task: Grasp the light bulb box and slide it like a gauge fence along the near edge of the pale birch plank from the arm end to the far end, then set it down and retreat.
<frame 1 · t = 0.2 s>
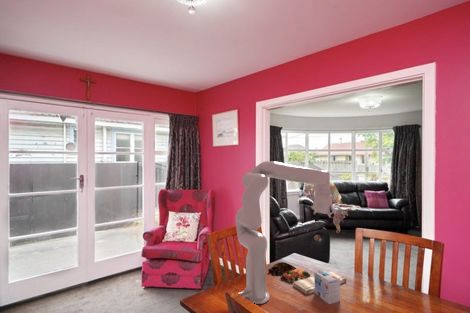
hand: (323, 222, 144), 31 cm above the table, fingers open, 9 cm apart
food: (287, 274, 150), on the table
light bulb box: (327, 297, 123), on the table
plank: (320, 283, 137), on the table
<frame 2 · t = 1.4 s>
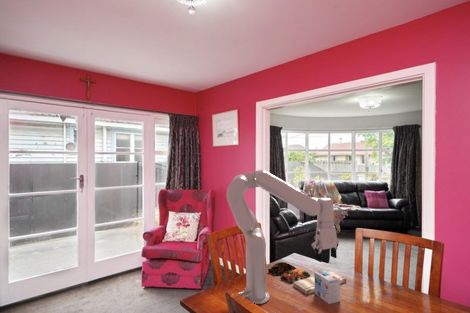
hand: (326, 259, 124), 18 cm above the table, fingers open, 9 cm apart
nothing on the table moved.
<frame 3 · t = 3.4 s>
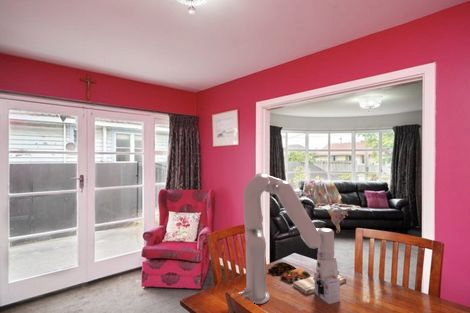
hand: (326, 291, 124), 3 cm above the table, fingers closed on light bulb box, 7 cm apart
light bulb box: (327, 297, 123), on the table, touching gripper
everything else where it was.
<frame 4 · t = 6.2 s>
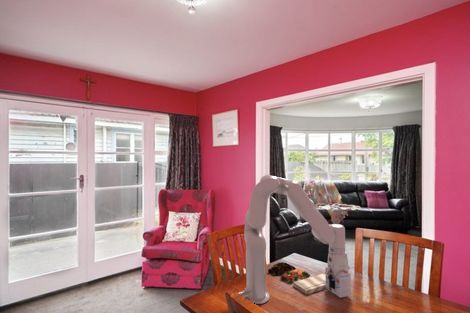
hand: (337, 285, 127), 4 cm above the table, fingers closed on light bulb box, 7 cm apart
light bulb box: (338, 291, 127), point 1 cm above the table, touching gripper
everything else where it was.
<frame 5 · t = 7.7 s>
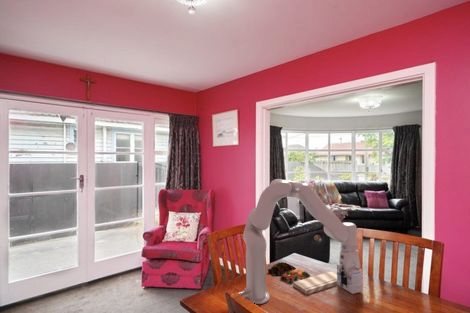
hand: (349, 282, 131), 4 cm above the table, fingers closed on light bulb box, 7 cm apart
light bulb box: (349, 288, 131), point 1 cm above the table, touching gripper
everything else where it was.
when the fingers open (3 cm above the table, at t = 8.7 s): light bulb box stays where it is, on the table.
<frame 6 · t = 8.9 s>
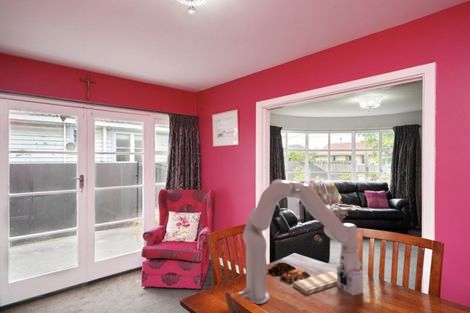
hand: (349, 282, 131), 4 cm above the table, fingers open, 9 cm apart
light bulb box: (349, 289, 131), on the table
everything else where it was.
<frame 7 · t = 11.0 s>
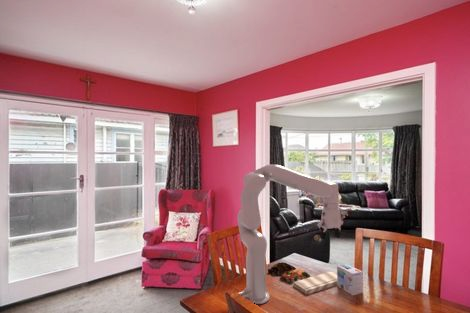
hand: (330, 238, 137), 24 cm above the table, fingers open, 9 cm apart
nothing on the table moved.
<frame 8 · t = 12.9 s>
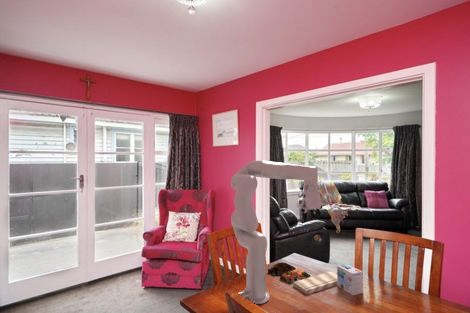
hand: (311, 218, 144), 33 cm above the table, fingers open, 9 cm apart
nothing on the table moved.
at the end: light bulb box inside the target area (0.2 cm from its centre), on the table; light bulb box tilted 0°; the gripper is holding nothing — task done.
